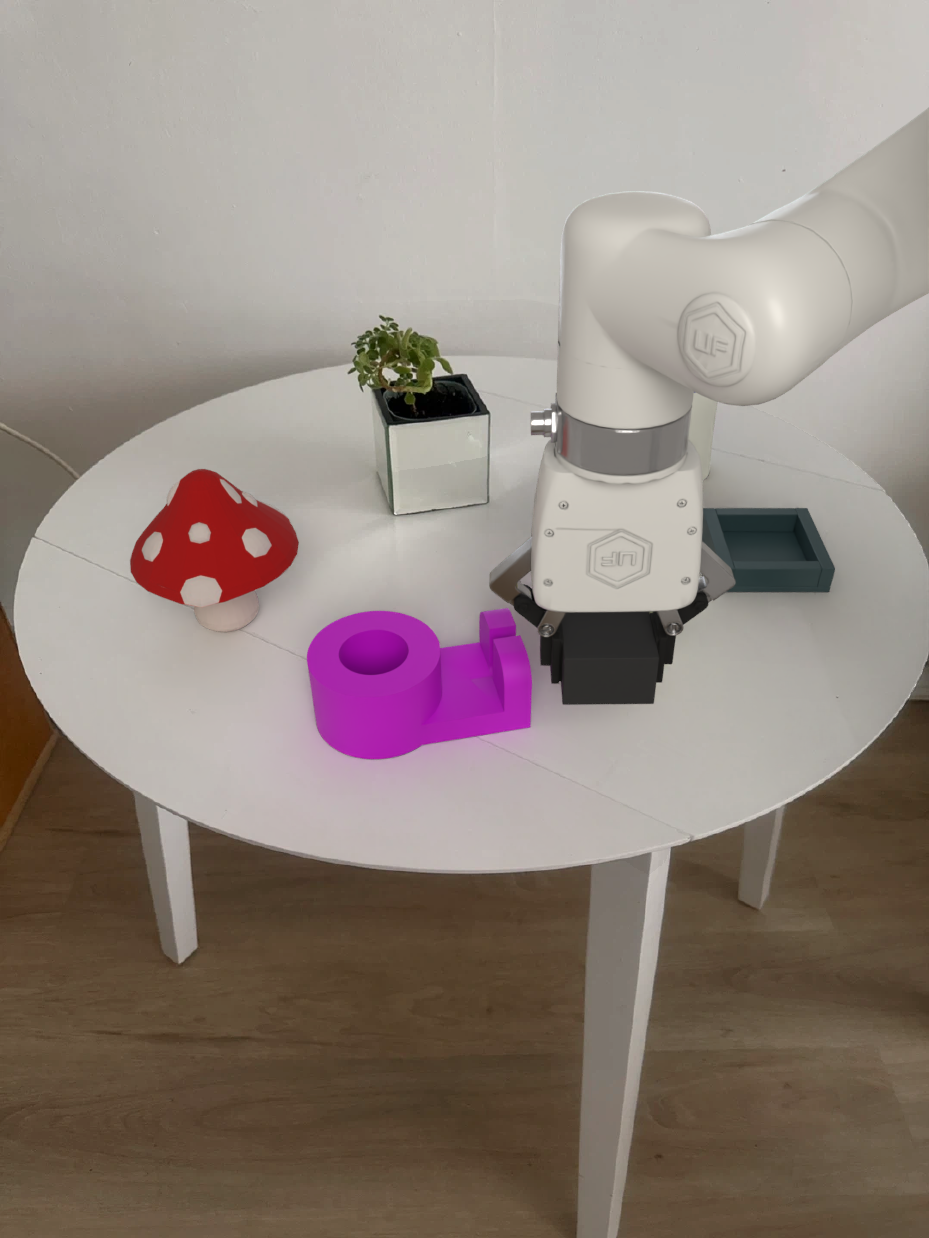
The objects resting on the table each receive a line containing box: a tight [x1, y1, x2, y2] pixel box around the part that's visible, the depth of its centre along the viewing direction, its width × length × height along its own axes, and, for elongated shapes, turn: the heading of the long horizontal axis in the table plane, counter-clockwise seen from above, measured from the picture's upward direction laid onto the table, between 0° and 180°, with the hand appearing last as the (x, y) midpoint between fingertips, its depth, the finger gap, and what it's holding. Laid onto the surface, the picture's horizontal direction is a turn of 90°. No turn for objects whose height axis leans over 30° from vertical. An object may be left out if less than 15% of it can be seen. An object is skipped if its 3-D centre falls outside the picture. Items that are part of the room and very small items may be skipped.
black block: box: [560, 612, 659, 706], centre depth 67 cm, size 6×6×4 cm
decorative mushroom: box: [129, 468, 300, 633], centre depth 83 cm, size 14×14×15 cm
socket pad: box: [702, 507, 836, 593], centre depth 92 cm, size 10×10×3 cm
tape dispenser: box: [306, 607, 533, 760], centre depth 76 cm, size 16×10×6 cm, turn 102°
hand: (604, 667), depth 68 cm, fingers closed on black block, 6 cm apart
